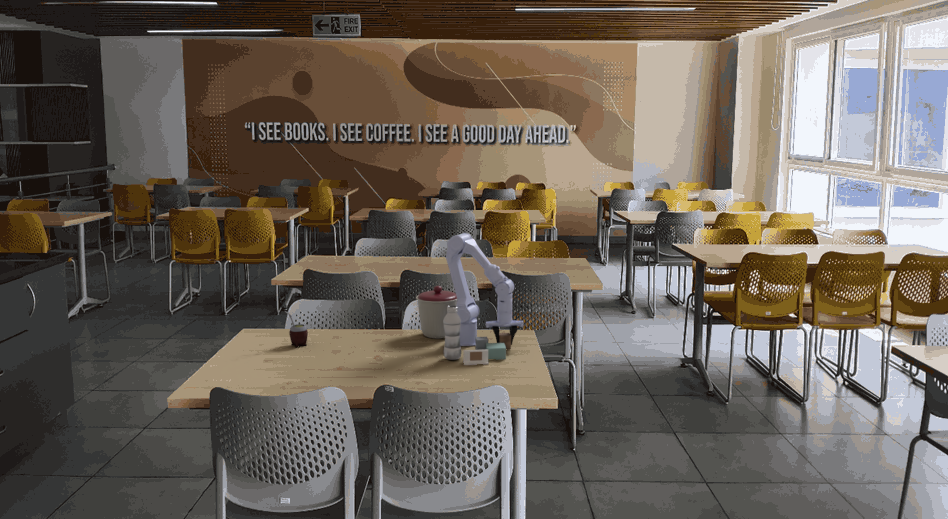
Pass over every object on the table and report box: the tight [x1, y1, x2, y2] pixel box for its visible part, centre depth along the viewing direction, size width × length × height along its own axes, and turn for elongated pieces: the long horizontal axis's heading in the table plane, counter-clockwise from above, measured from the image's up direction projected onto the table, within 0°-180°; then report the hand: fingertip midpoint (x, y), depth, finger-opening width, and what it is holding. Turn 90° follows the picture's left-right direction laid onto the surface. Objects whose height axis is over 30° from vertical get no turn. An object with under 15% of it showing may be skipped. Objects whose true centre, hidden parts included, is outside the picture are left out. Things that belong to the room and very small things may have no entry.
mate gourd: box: [284, 310, 309, 349], centre depth 280 cm, size 8×8×15 cm
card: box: [462, 349, 489, 366], centre depth 259 cm, size 9×3×5 cm, turn 97°
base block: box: [486, 342, 507, 360], centre depth 267 cm, size 7×7×4 cm
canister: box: [415, 285, 457, 339], centre depth 295 cm, size 18×18×21 cm
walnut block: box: [499, 332, 512, 351], centre depth 278 cm, size 4×4×6 cm
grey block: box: [474, 336, 489, 350], centre depth 273 cm, size 4×4×6 cm
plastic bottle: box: [443, 306, 463, 361], centre depth 263 cm, size 6×7×20 cm
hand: (504, 344), depth 278 cm, fingers closed on walnut block, 4 cm apart
